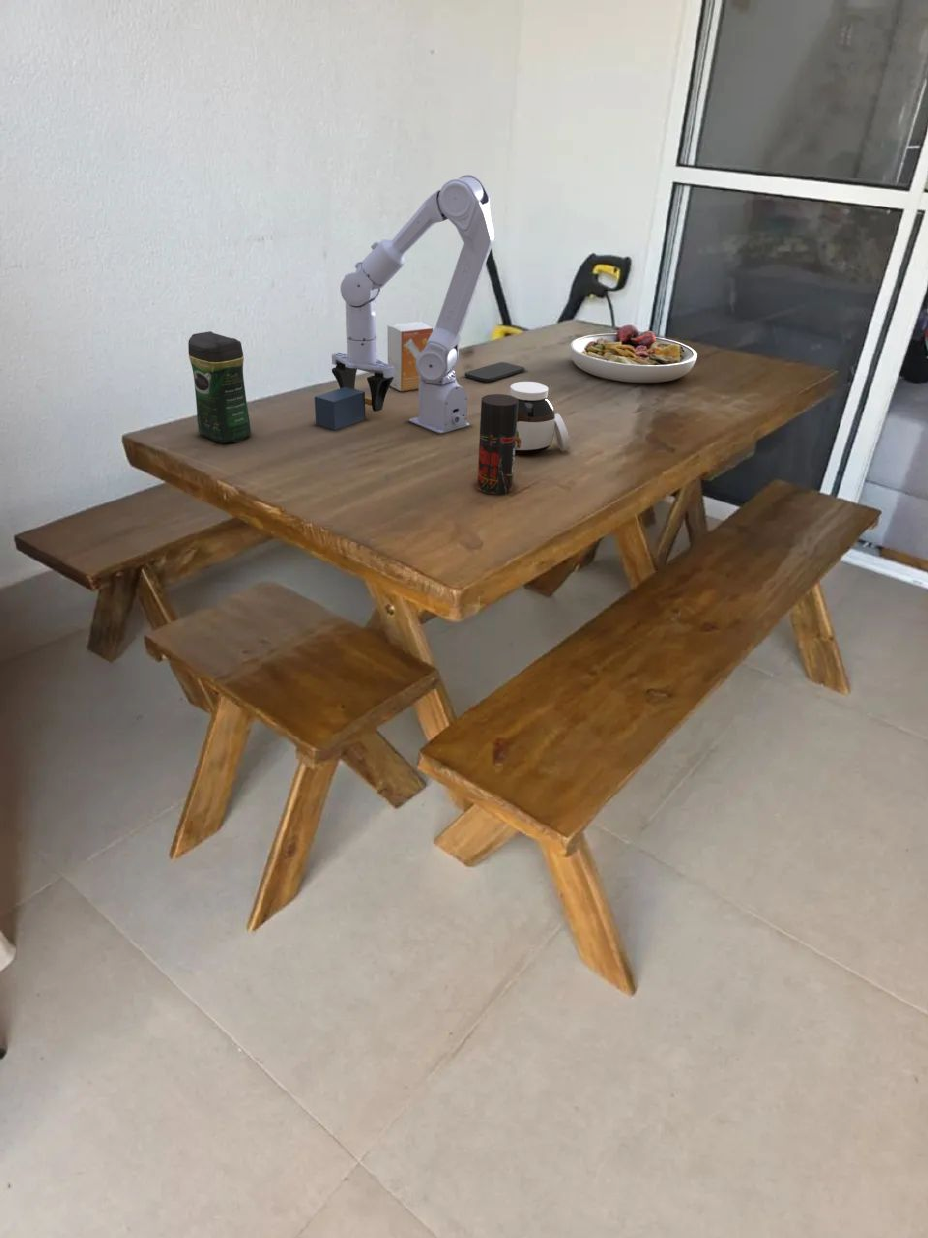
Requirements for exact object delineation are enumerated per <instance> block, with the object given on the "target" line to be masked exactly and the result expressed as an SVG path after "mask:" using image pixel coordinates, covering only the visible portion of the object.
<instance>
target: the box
mask: <svg viewBox="0 0 928 1238" xmlns="http://www.w3.org/2000/svg"><path fill="white" fill-rule="evenodd" d="M366 406H370V407H372V397H371V396H367V395H366V391H364V390H360V389H356V388H355V389H353V388H349V387H346V386H345V387H343V388H340V387H339V388H337V389H334V390H331V391H327V392H325V393H320V394H318V395H315V396H314V408H315V410H314V411H315V425H316V426H319V427H322V428H326V429H328V430H332V431H338V430H340V429H343V428H346V427H349V426H352V425H354V424H357V423H360V422H362V421H366Z"/></svg>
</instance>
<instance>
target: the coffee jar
mask: <svg viewBox="0 0 928 1238" xmlns="http://www.w3.org/2000/svg"><path fill="white" fill-rule="evenodd" d="M187 342H188V343H187V345H188V346H187V347H188V358H189V361H190V365H191V368H192V373H193V374H192V375H193V383H194V391H195V402H196V403H195V404H196V417H197V418H196V419H197V427H198V433H199V434H200V435H201V436H202V437H204V438H206V439H207V440H210V441H212V442H216V443H219V444H220V443H221V444H223V443H238V442H242V441H243V440H245V439H247V438H248V437H250V436H251V434H252V429H251V421H250V415H249V414H250V413H249V408H248V401H247V395H246V387H245V380H244V361H245V360H244V359H245V357H244V351H243V347H242V342H241V341H240V340H238V339H237V338H234V337H229V336H226V335H222V334H219V333H215V332H214V331H212V330H210V331H203V332H202V331H201V332H197V333H193V334H192V335H191V336H190V337H189V339H188V341H187Z"/></svg>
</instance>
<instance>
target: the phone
mask: <svg viewBox="0 0 928 1238" xmlns="http://www.w3.org/2000/svg"><path fill="white" fill-rule="evenodd" d="M524 371H525V367H524V366H522V365H517V364H513V363H509V362H504V361H500V362H496V363H493V364H488V365H486V366H482V367H478V368H476V369H472V370H467V371H465V372H464V377H466V378H469V379H473V380H476V381H479V382H484V383H490V382H494V381H498V380H501V379H503V378H507V377H510V376H513V375H516V374H521V373H523V372H524Z"/></svg>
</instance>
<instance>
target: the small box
mask: <svg viewBox="0 0 928 1238" xmlns="http://www.w3.org/2000/svg"><path fill="white" fill-rule="evenodd" d="M386 326H387V328H386V329H387V330H386V331H387V364H388V365H390V366H393V367H394V376H393V380H392V382H391V384H390V386H389V387H392V388H393V389H396V390H397V391H400V392H406V391H413V390H419V374H418V373H417V370H416V358H417V356H418V355H419V353H420V352H421V351H423V350H424V348H425V347H426V345H427V342H428V340H429V338H430V336H431V334H432V332H433V330H434V327H432V326H430V325H428V324H425V323H423V322H421V321H415V322H414V321H413V322H402V323H401V322H400V323H396V324H387V325H386Z"/></svg>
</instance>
